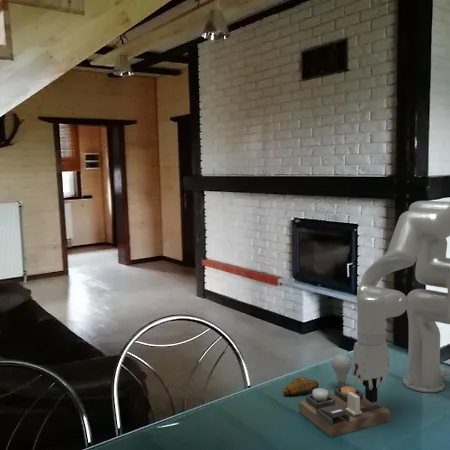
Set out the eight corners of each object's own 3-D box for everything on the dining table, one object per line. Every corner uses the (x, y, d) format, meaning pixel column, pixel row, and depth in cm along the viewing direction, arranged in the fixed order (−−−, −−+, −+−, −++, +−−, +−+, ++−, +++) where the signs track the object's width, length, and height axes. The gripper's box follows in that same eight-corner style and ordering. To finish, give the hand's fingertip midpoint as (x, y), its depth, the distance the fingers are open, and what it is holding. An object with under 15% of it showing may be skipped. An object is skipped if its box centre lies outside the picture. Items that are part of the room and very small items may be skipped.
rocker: (333, 408, 141) (332, 405, 141) (346, 414, 136) (345, 410, 136) (319, 412, 139) (319, 408, 139) (332, 418, 134) (332, 413, 134)
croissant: (290, 401, 155) (290, 385, 155) (278, 393, 161) (277, 378, 161) (324, 391, 162) (324, 376, 161) (311, 383, 168) (311, 369, 167)
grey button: (322, 392, 149) (322, 387, 149) (331, 398, 145) (331, 392, 145) (309, 395, 148) (309, 390, 147) (318, 401, 144) (318, 395, 143)
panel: (354, 398, 156) (354, 383, 156) (390, 420, 141) (390, 404, 141) (298, 411, 148) (298, 396, 148) (330, 437, 134) (330, 420, 133)
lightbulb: (351, 392, 160) (351, 358, 159) (332, 391, 161) (332, 358, 160) (350, 384, 166) (350, 352, 165) (332, 383, 167) (331, 351, 166)
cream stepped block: (353, 408, 143) (353, 391, 142) (361, 413, 139) (361, 396, 139) (345, 410, 141) (345, 393, 141) (353, 415, 138) (353, 398, 138)
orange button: (349, 390, 153) (349, 385, 153) (359, 396, 149) (359, 390, 149) (337, 393, 152) (337, 387, 152) (346, 399, 148) (346, 393, 147)
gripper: (383, 329, 147) (383, 389, 149) (341, 338, 141) (341, 400, 143) (401, 337, 140) (401, 400, 142) (358, 346, 134) (358, 411, 136)
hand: (371, 400), depth 143 cm, fingers closed
